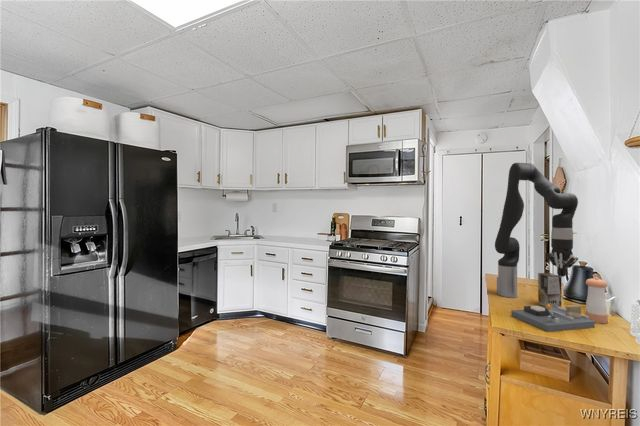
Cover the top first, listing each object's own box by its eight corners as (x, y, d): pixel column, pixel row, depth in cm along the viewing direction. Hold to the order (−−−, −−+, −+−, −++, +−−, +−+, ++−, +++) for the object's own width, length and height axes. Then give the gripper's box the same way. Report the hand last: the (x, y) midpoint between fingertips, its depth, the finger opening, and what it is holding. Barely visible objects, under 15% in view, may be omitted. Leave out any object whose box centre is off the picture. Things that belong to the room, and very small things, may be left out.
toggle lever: (549, 318, 123) (543, 304, 122) (552, 316, 123) (547, 302, 123) (553, 320, 121) (548, 306, 120) (557, 317, 121) (552, 304, 121)
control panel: (511, 315, 136) (511, 306, 136) (553, 312, 140) (553, 303, 140) (548, 331, 118) (548, 320, 118) (594, 327, 122) (594, 316, 122)
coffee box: (562, 309, 144) (562, 276, 144) (547, 308, 145) (547, 276, 145) (551, 303, 153) (551, 272, 153) (537, 302, 154) (537, 272, 154)
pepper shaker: (612, 322, 127) (612, 278, 126) (598, 324, 125) (598, 279, 125) (594, 316, 134) (594, 275, 134) (580, 317, 133) (580, 275, 132)
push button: (527, 311, 134) (527, 305, 134) (537, 310, 135) (537, 305, 135) (538, 315, 129) (538, 309, 129) (547, 314, 130) (548, 308, 130)
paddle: (565, 317, 126) (565, 305, 126) (577, 316, 127) (577, 305, 127) (569, 318, 125) (569, 307, 125) (581, 317, 126) (581, 306, 126)
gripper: (584, 239, 125) (583, 279, 126) (554, 236, 138) (554, 272, 139) (569, 239, 124) (569, 280, 124) (541, 236, 137) (540, 273, 137)
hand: (561, 276), depth 132 cm, fingers closed
